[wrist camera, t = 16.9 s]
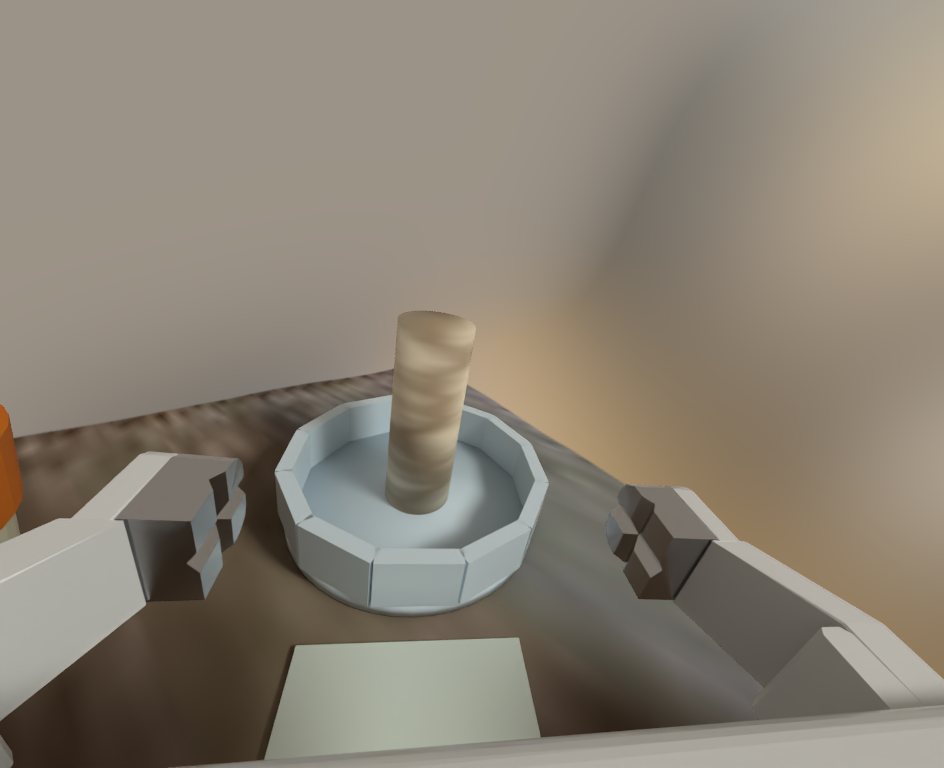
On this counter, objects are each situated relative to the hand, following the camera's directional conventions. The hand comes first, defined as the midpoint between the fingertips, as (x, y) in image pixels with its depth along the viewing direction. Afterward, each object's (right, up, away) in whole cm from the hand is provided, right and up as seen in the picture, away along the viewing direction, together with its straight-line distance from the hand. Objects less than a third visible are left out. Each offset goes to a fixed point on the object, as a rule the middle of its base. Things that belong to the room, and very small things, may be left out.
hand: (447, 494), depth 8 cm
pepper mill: (-4, -6, +22) cm, 23 cm away
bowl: (-4, -7, +22) cm, 24 cm away
